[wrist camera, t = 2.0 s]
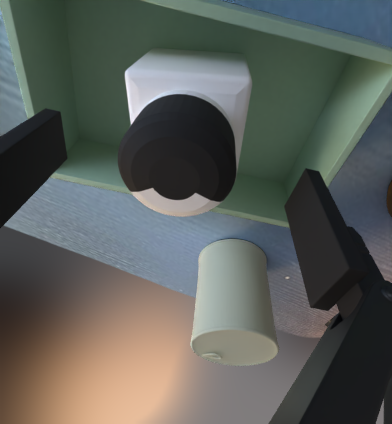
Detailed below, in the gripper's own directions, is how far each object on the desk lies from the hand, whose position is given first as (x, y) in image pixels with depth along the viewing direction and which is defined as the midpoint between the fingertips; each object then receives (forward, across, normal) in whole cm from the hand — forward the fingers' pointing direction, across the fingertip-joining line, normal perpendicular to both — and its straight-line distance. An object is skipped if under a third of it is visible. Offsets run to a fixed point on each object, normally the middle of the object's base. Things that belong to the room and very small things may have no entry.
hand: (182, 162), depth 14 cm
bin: (+10, 0, 0) cm, 10 cm away
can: (+11, +9, -20) cm, 24 cm away
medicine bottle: (+10, 0, 0) cm, 10 cm away
